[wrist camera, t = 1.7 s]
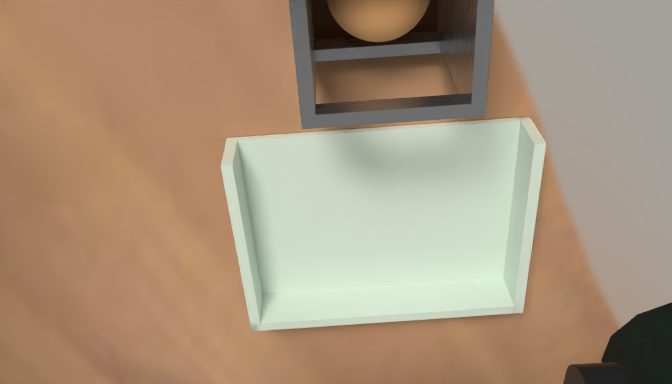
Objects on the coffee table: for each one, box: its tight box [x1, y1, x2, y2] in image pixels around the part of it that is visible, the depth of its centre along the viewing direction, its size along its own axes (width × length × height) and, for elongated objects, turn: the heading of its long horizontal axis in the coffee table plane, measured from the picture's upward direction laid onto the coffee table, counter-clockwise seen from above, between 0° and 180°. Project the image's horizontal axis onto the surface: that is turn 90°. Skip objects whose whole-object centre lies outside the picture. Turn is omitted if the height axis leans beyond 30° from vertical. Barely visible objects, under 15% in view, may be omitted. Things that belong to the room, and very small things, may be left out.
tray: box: [221, 117, 546, 331], centre depth 31 cm, size 10×14×2 cm
